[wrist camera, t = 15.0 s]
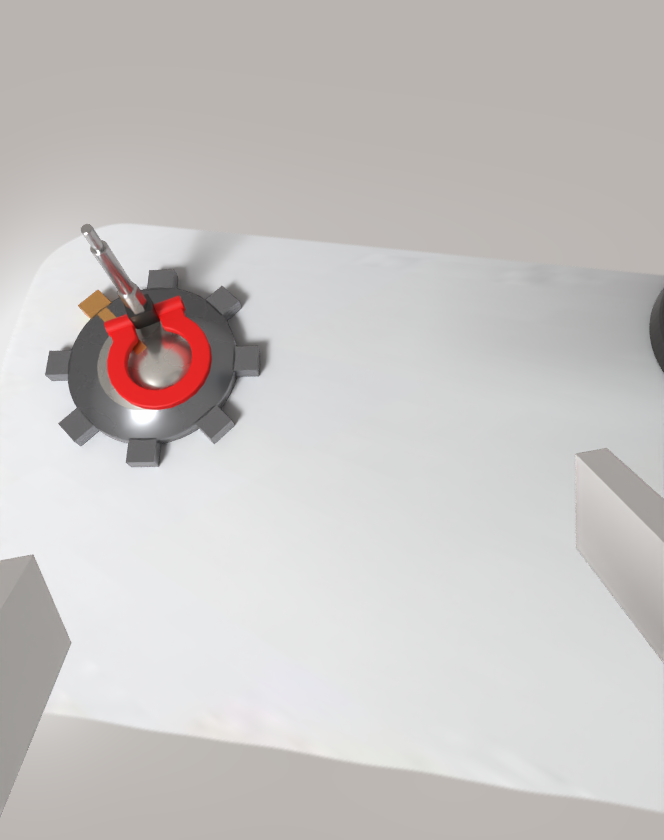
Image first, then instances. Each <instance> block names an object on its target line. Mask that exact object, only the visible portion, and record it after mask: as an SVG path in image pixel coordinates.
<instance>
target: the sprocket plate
mask: <svg viewBox="0 0 664 840" xmlns="http://www.w3.org/2000/svg"><path fill="white" fill-rule="evenodd" d="M177 281H178V277H177V275H176V273H175V270H149V277H148V285H147V289H144V290H141V292H142V294H143V295H145V294H148V295H149V296H150V298H151V300H152V301H153V303H154V304H156V303H159V302H162V301H164V300H167V299H170V298H173V297H176V296H178V295H179V296H180V297H181V299H182V301H183V303H184V306H185V310H186V311H184V313H185V316H186V317H187V318H189V319H190V320H192V321H193V322H195V323H196V324H197V325H198V326H199V327H200V328H201V329H202V331H203V332H204V333H205V335H206V337H207V340H208V342H209V344H210V347H211V354H212V363H211V368H210V373H209V375H208V377H207V379H206V381H205V383H204V385H203V386H202V387H201V388H200V389H199V391H198V392H197V393H196V394H195V395H194V396H192V397H191V398H190V399H188V400H187V401H186V402H184V403H182V404H179V405H177V406H175V407H172V408H168V409H162V410H150V409H143V408H140V407H137V406H135V405H132V404H131V403H129V402H128V401H127V400H125V399H124V398H122V397H121V396H120V395H119V394H118V392H117V391H116V390H115V388H114V387H113V386H112V384H111V381H110V378H109V376H108V372H107V358H108V354H109V350H110V347H111V345H112V343H113V341H112V337H110V336H109V335H108V333H107V332H106V329H105V326H104V322H105V321H108V320H111V319H114V318H117V317H119V316H122V315H125V314H127V313H126V310H125V307H124V304H123V301H122V300H121V298H118V299H116V300H114V301H113V302H110V301H109V300H108V299H107V298H106V297H105V296H104V295H103V294H102V293H101V292H100V291H99V290H97V291H95V292H94V293H93V294H92V295H90V296H89V297H88V298H87V299H85V300H84V301H83V302H82V303H80V304H79V305H78V306H79V307H80V309H81V310H82V311H83V312H84V313H85V314H86V315H87V316H88V317H89V318H90V320H89V322H88V323H87V324H86V325H85V326H84V328H83V329H82V331H81V332H80V333H79V335H78V337H77V339H76V341H75V343H74V345H73V348H72V350H70V351H49V356H48V362H47V367H46V373H45V375H46V376H47V377H48V378H49V379H50V380H52V381H68V384H69V389H70V393H71V396H72V399H73V401H74V403H75V405H76V407H77V408H76V409H75V410H74V411H73V412H71V413H70V414H69V415H68V416H67V417H66V418H64V419H63V420H62V421H61V422H60V423H58V424H59V425H60V426H61V427H62V428H63V429H64V430H65V432H66V433H67V434H68V435H69V436H70V437H71V438H72V439H73V441H74V442H76V443H77V444H78V445H80V446H82V445H83V444H84V443H86V442H87V441H88V440H89V439H90V438H91V437H93V436H94V435H95V434H96V433H97V432H98V431H101V432H102V433H104V434H105V435H107V436H109V437H111V438H113V439H115V440H118V441H121V442H124V443H128V449H127V458H126V463H127V464H128V465H129V466H131V467H159V458H160V448H161V444H163V443H168V442H172V441H175V440H178V439H181V438H183V437H185V436H187V435H189V434H191V433H193V432H194V431H196V430H198V429H200V430H201V431H202V432H203V433H204V434H205V435H206V436H207V437H208V438H209V439H210V440H211V441H212V442H213V443H214V444H215V443H216V442H217V441H218V440H219V439H220V438H222V437H223V436H224V435H225V434H226V433H227V432H228V431H229V430H230V429H231V428H233V427H234V426H235V425H234V423H233V422H232V420H231V419H230V418H229V417H228V416H227V415H226V414H225V413H224V412H223V411H222V410H221V408H222V406H223V405H224V404H225V402H226V400H227V399H228V397H229V395H230V393H231V391H232V389H233V386H234V383H235V380H236V377H243V376H259V365H260V351H259V348H258V346H237V345H236V342H235V339H234V336H233V334H232V331H231V329H230V327H229V325H228V323H227V320H228V319H230V318H231V317H232V316H233V315H234V314H235V313H237V312H238V311H239V310H240V309H241V305H240V303H239V301H238V300H237V299H236V298H235V297H234V296H233V295H232V294H231V293H230V292H228V291H227V290H226V289H225V288H224V287H223V286H221V287H220V288H219V289H218V290H216V291H215V292H214V293H213V294H212V295H210V296H209V297H208V298H207V299H206V300H205V299H203V298H202V297H200V296H198V295H196V294H193V293H191V292H188V291H184V290H181V289H177ZM135 330H136V333H137V336H138V339H139V340H138V343H137V344H136V345H135V346H134V347H133V349H132V351H131V353H130V355H129V360H128V371H129V374H130V377H131V379H132V380H133V381H134V382H135V383H136V384H137V385H139V386H140V387H143V388H146V389H151V390H159V389H165V388H168V387H170V386H173V385H174V384H176V383H177V382H179V381H180V380H181V379H182V378H183V377H184V376H185V375H186V373H187V372H188V370H189V367H190V365H191V360H192V351H191V347H190V345H189V343H188V342H187V341H186V339H184V338H183V337H181V336H180V335H178V334H175V333H172V332H167V331H166V330H164V328H163V326H162V323H161V321H160V322H158V323H155V324H152V325H150V326H147V327H144V328H141V329H135Z"/></svg>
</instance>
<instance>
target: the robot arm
mask: <svg viewBox="0 0 664 840" xmlns="http://www.w3.org/2000/svg"><path fill="white" fill-rule="evenodd" d="M650 339H651V344H652V348H653V351H654V354H655V357H656V359H657V361H658V363H659V365H660V367H661V369H662V371H663V372H664V289H663V290H662V292H661V293H660V295H659V296H658V298H657V300H656V302H655V304H654V307H653V310H652V313H651V318H650ZM575 465H576V549H577V550H578V552H579V553H580V554H581V555H582V557H583V558H584V559H585V561H586V562H587V563H588V565H589V566H590V567H591V569H592V570H593V571H594V573H595V574H596V575H597V576H598V578H599V579H600V580H601V582H602V583H603V584H604V586H605V587H606V588H607V590H608V591H609V592H610V594H611V595H612V596H613V598H614V599H615V600H616V601H617V603H618V604H619V605H620V607H621V608H622V609H623V611H624V612H625V613H626V615H627V616H628V617H629V619H630V620H631V621H632V622H633V624H634V625H635V626H636V628H637V629H638V630H639V632H640V633H641V634H642V636H643V637H644V638H645V640H646V641H647V642H648V643H649V645H650V646H651V647H652V649H653V650H654V651H655V653H656V654H657V655H658V657H659V658H660V659H661V661H662V662H663V663H664V499H663V498H662V497H661V496H660V495H659V494H658V493H656V492H655V491H654V490H653V489H652V488H651V487H650V486H649V485H648V484H646V483H645V482H644V481H643V480H642V479H641V478H640V477H639V476H637V475H636V474H635V473H634V472H633V471H632V470H631V469H630V468H628V467H627V466H626V465H625V464H624V463H623V462H622V461H621V460H620V459H618V458H617V457H616V456H615V455H614V454H613V453H612V452H611V451H609V450H608V449H607V448H604V449H599V450H593V451H588V452H582V453H577V454H575ZM70 645H71V641H70V638H69V636H68V634H67V631H66V629H65V627H64V625H63V622H62V620H61V618H60V615H59V613H58V611H57V608H56V606H55V604H54V601H53V599H52V597H51V594H50V592H49V590H48V587H47V585H46V583H45V581H44V578H43V576H42V574H41V571H40V569H39V567H38V564H37V562H36V560H35V557H34V555H28V556H22V557H17V558H11V559H6V560H1V561H0V816H1V814H2V812H3V809H4V807H5V804H6V802H7V799H8V797H9V794H10V792H11V789H12V787H13V785H14V782H15V779H16V777H17V775H18V772H19V770H20V767H21V765H22V763H23V760H24V757H25V755H26V753H27V750H28V748H29V745H30V743H31V740H32V738H33V736H34V733H35V731H36V728H37V725H38V723H39V721H40V718H41V716H42V713H43V711H44V709H45V706H46V704H47V701H48V699H49V696H50V694H51V691H52V689H53V687H54V684H55V682H56V679H57V677H58V674H59V672H60V669H61V667H62V664H63V662H64V660H65V657H66V655H67V652H68V650H69V647H70Z"/></svg>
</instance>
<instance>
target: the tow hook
mask: <svg viewBox="0 0 664 840" xmlns="http://www.w3.org/2000/svg"><path fill="white" fill-rule="evenodd" d="M81 232H82V234H83V235H84V237H85V238H86V239H87V241H88V242H89V244H90V245H91V248H90V249H91V252H92V253H93V255H94V256H95V258H96V259H97V261H98V262H99V263H100V265H101V266H102V268H103V269H104V271H105V272H106V273H107V275H108V276H109V278H110V279H111V281H112V282H113V283H114V285H115V286H116V288H117V289H118V291H117V294H118V295H119V297H120V298H121V300H122V301H123V304H124V307H125V310H126V313H127V314H125V315H122V316H119V317H117V318H114V319H111V320H108V321H105V322H104V326H105V329H106V332H107V333H108V335H109V336H110V337H112V341H113V343H112V345H111V347H110V350H109V354H108V358H107V372H108V376H109V378H110V381H111V384H112V386H113V387H114V388H115V390H116V391H117V392H118V394H119V395H120V396H121V397H122V398H124V399H125V400H127V401H128V402H129V403H131V404H132V405H135V406H137V407H140V408H143V409H150V410H162V409H168V408H172V407H175V406H177V405H179V404H182V403H184V402H186V401H187V400H188V399H190V398H191V397H192V396H194V395H195V394H196V393H197V392H198V391H199V389H200V388H201V387H202V386H203V385H204V383H205V381H206V379H207V377H208V375H209V373H210V368H211V363H212V354H211V347H210V344H209V342H208V340H207V337H206V335H205V333H204V332H203V331H202V329H201V328H200V327H199V326H198V325H197V324H196V323H195V322H193V321H192V320H190V319H189V318H187V317H186V316H185V313H184V311H186V310H185V306H184V303H183V301H182V299H181V297H180V296H179V295H178V296H176V297H173V298H170V299H167V300H164V301H162V302H159V303H156V304H154V303H153V301H152V300H151V298H150V296H149V295H148V294H145V295H143V294H142V292H141V290H140V289H139V287H138V286H137V285H136V284H134V283H133V282H132V281H131V280H130V279H129V277H128V276H127V274H126V273H125V271H124V269H123V268H122V266H121V265H120V263H119V262H118V260H117V259H116V257H115V256H114V254H113V252H112V251H111V249H110V248H109V246H108V245H107V243H106V242H105V241H103V240H101V239H100V238H99V236H98V235H97V233H96V232H95V230H94V229H93V227H92V226H91V225H90V224H85V225H83V226H82V228H81ZM160 321H161V323H162V326H163V328H164V330H166V331H167V332H172V333H175V334H178V335H180V336H181V337H183V338H184V339H186V341H187V342H188V343H189V345H190V347H191V351H192V360H191V365H190V367H189V370H188V372H187V373H186V375H185V376H184V377H183V378H182V379H181V380H180V381H179V382H177V383H176V384H174V385H173V386H170V387H168V388H165V389H159V390H151V389H146V388H143V387H140V386H139V385H137V384H136V383H135V382H134V381H133V380H132V379H131V377H130V374H129V371H128V360H129V355H130V353H131V351H132V349H133V347H134V346H135V345H136V344H137V343H138V340H139V339H138V336H137V333H136V330H135V329H141V328H144V327H147V326H150V325H152V324H155V323H158V322H160Z"/></svg>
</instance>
